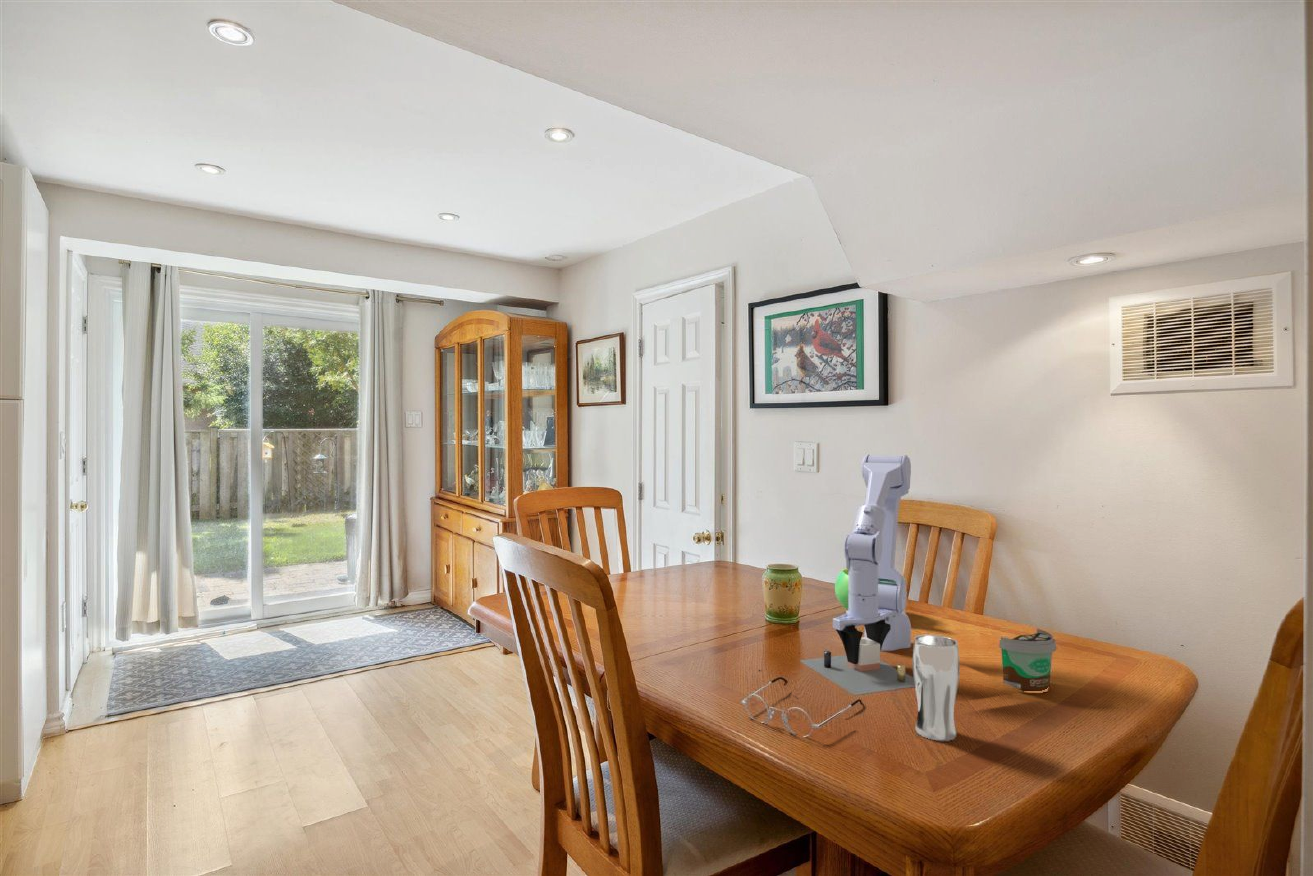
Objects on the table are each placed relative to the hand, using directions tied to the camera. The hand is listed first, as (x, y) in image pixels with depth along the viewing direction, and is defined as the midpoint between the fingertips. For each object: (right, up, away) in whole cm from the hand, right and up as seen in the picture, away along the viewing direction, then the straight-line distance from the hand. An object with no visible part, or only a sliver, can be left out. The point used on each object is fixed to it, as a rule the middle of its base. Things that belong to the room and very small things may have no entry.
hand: (863, 660), depth 131 cm
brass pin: (+5, -1, -8) cm, 9 cm away
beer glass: (+3, -3, -26) cm, 27 cm away
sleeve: (0, -1, 0) cm, 1 cm away
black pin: (-7, -1, 0) cm, 7 cm away
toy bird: (+15, -3, +43) cm, 46 cm away
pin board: (-2, -3, -3) cm, 4 cm away
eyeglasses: (-16, -3, -18) cm, 25 cm away
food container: (+30, -3, -8) cm, 31 cm away
